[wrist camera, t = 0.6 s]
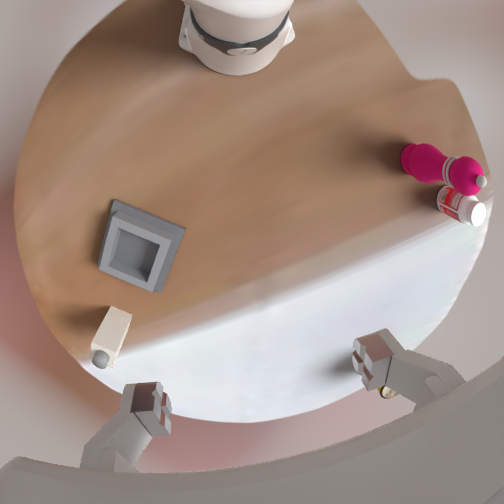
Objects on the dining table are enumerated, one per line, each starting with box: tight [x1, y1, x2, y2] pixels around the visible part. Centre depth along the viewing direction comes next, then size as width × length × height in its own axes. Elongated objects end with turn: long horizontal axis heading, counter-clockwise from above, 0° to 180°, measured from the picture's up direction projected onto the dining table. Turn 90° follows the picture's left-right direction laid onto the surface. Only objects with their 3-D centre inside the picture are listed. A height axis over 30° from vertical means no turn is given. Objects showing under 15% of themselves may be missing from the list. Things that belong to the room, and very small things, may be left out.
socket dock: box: [97, 199, 186, 293], centre depth 49 cm, size 14×14×4 cm
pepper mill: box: [401, 144, 487, 196], centre depth 39 cm, size 7×7×20 cm
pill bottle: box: [437, 186, 486, 226], centre depth 46 cm, size 6×6×11 cm
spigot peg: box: [90, 306, 132, 369], centre depth 51 cm, size 5×5×14 cm
